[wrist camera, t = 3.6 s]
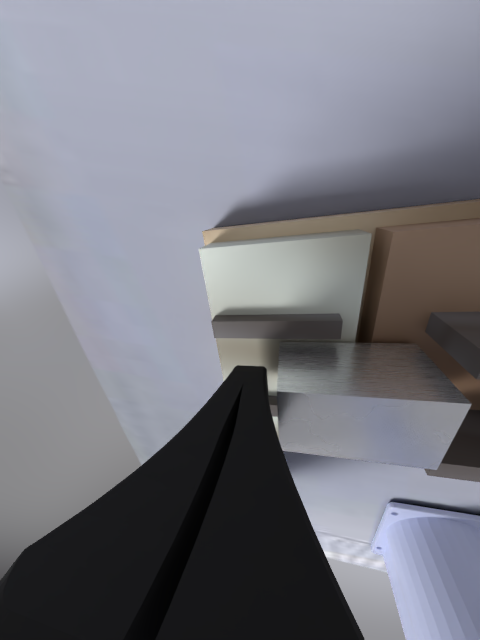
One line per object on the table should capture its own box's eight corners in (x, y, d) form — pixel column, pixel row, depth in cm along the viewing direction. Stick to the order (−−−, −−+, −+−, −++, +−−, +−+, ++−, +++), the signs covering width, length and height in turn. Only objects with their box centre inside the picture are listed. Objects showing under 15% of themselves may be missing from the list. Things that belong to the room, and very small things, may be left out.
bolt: (398, 401, 9) (436, 470, 7) (281, 393, 10) (279, 450, 8) (416, 343, 8) (471, 404, 6) (279, 341, 9) (276, 391, 7)
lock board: (447, 418, 13) (539, 540, 8) (240, 402, 16) (219, 485, 11) (557, 190, 8) (997, 166, 3) (212, 228, 11) (151, 247, 6)
